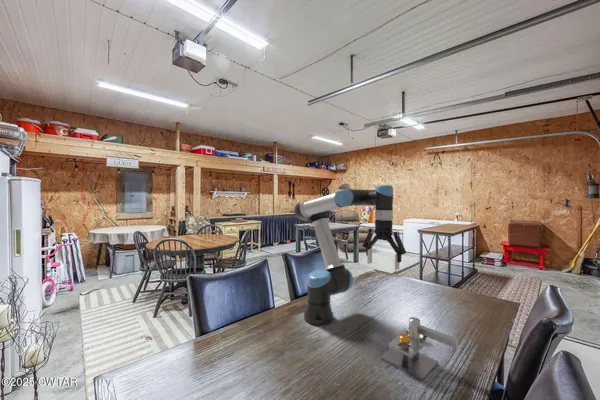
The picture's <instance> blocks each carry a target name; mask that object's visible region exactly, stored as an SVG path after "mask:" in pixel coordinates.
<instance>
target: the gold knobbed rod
mask: <svg viewBox="0 0 600 400" xmlns="http://www.w3.org/2000/svg"><path fill="white" fill-rule="evenodd" d="M398 336H399V341H400V342H401V347H402V348H404V349H406V350H407V349H408V344H409V343H411V337H410V336H409V335H407V334H406V333H399V334H398ZM401 365H402V366H405V367H407V366H408V356H406V355H404V354H402V353H401Z"/></svg>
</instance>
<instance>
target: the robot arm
mask: <svg viewBox="0 0 600 400" xmlns="http://www.w3.org/2000/svg"><path fill="white" fill-rule="evenodd" d="M393 204H394V187H393V186H392V185H388V184H387V185H386V184H385V185H384V184H381V185H380V184H379V185H376V186H375V189H356V188H355V189H353V188H352V189H351V188H342V189H341V188H340V189H337V190H336V192H334V193H330V194H327V195H324V196H320V197H318V198H315V199H314V198H313V199H311V200H309V199H306V200H302V201H298V202H297V203H296V204H295V206H294V209H293V210H294V214H295V215H294V216H295V217H296V218H297V219H299V220H300V221H303V222H304V221H307V222H308V221H309V224H310V226H311V227H313V228H314V231H315V234H316V237H317V241H318V245H319V249H320V252H321V256H322V258H323V262H324V265H325V268H324V269H323V270H322V269H321V270H319V269H317V270H314V271H312V272H310V273H309V274H308V276H307V303H306V306H305V308H304V309H305V310H304V313H303V320H304V321H306V323H308V324H311V325H315V326H326V325H329V324H330V323H332V322H333V321H334V312H333V311H332V310H333V309H332V306H331V296H334V295H338V294H342V293H345V292H347V291H350V290H351V288H352V286H353V284H354V276H353V273H352V272H351V271H350V269H348V268H346V267H345V264H344V263H342V262H341V259H340V257H339V253H338V250H337V247H336V243H335V239H334V238H333V234H332V231H331V229H330V224H329V222H330V218H331V214H332V210H336V209H341V208H346V207H350V206H351V207H352V206H355V207H358V206H373V207H375V208H374V209H375V210H374V211H375V212H374V215H375V217H374V218H375V220H374V227H375V228H369V229H368V234H367V235H366V238H365V239H364V242H363V244H362V247H363V248H365V254H366V255H365V256H367V261H366V262H367V264H368V265H369V264H372V263H373V246H374V245H375V244H376V243H377V242H378V240H380V241H387V243H389V245H390V246H391V248H392V249H393V251H394V252H395V254H394V270H395V271H399V270H400V263H402V255H406V254H407V251H406V249H405V246H404V244H403V242H402V239H401V237H400V231H393V225H394V224H393V219H394V218H393V215H394V213H393V209H394V207H393V206H394V205H393ZM374 234H375V236H374ZM373 236H374V237H373ZM393 237H394V238H393Z"/></svg>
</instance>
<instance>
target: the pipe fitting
mask: <svg viewBox="0 0 600 400" xmlns="http://www.w3.org/2000/svg"><path fill="white" fill-rule="evenodd" d="M405 334H407V335H409V326H407V328H405ZM427 339H428V337H426V336H424V335H421V334H420V343H422V344H425V343H426V342H427Z"/></svg>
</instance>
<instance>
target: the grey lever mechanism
mask: <svg viewBox="0 0 600 400" xmlns="http://www.w3.org/2000/svg"><path fill="white" fill-rule="evenodd" d="M408 327H409V336H410V337H411V343H409V344H408V349H407V350H406V349H404V348H402V347H401V342H400V341H399V335H398V336H396V337H395V338H394V339H393V340H391V341H389V342H388V343H387V347H388V348H389V349H388V350H387V351H386V352H384V353H383V354H382V355H381V356H380V360H382V361H383V362H385V363H387V364H389V365H391V366H393V367H395V368H396V369H399V370H400V371H402V372H404V373H406V374H408V375H409V376H412V377H414V378H415V379H418V380H419V381H420V382H424V381H425V380H426V379H427V377H429V375H430V374H431V373H432V372H433V371H434V369H436V367H437V366H438V365H439V360H437V359H435V358H432V357H430V356H427V355H425V354H423V353H422V352H420V351H422V350H423V349H424V348H425V347H424V346H425V343H422V342H420V334H421V335H424V336H426V337H427V338H429V339H430V340H434V341H437V342H439V343H441V344H444V345H447V346H449V347H452V348H454V349H457V348H458V347H459V338H457V337H454V336H452V335H449V334H446V333H443V332H440V331H438V330H436V329H433V328H430V327H427V326H425V325H422V324H421V319H419V318H418V317H414V316H412V317H409V318H408ZM401 353H402V354H404V355H406V356H408V366H407V367H405V366H402V365H401Z"/></svg>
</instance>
